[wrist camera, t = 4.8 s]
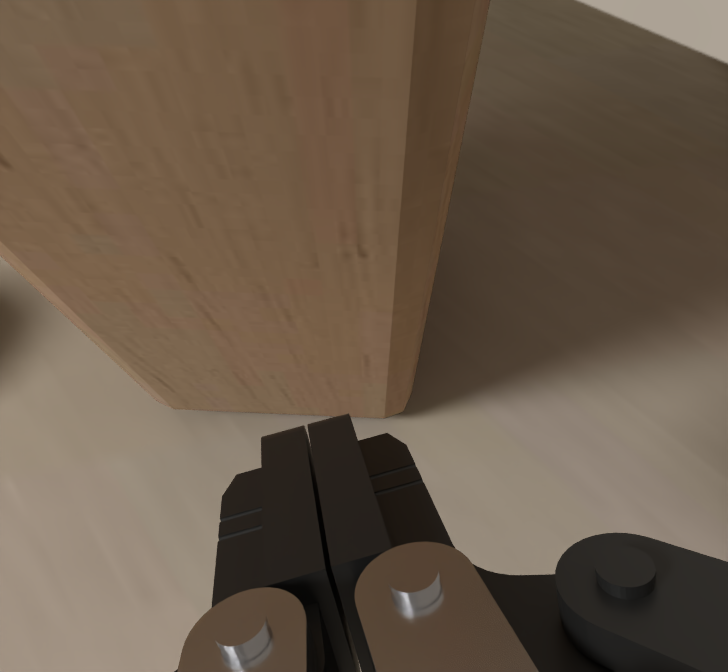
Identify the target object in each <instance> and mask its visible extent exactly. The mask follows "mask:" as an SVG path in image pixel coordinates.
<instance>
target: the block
mask: <svg viewBox="0 0 728 672" xmlns="http://www.w3.org/2000/svg"><path fill="white" fill-rule="evenodd" d="M489 4H490V0H0V256H1V257H2V258H4V259H5V260H6V261H7V262H8V263H9V264H10V265H11V266H12V267H13V268H14V269H15V270H16V271H17V272H19V273H20V274H21V275H22V276H23V277H24V278H25V279H26V280H27V281H28V282H29V283H30V284H31V285H33V286H34V287H35V288H36V289H37V290H38V291H39V292H40V293H41V294H42V295H43V296H44V297H45V298H47V299H48V300H49V301H50V302H51V303H52V304H53V305H54V306H55V307H56V308H57V309H58V310H59V311H61V312H62V313H63V314H64V315H65V316H66V317H67V318H68V319H69V320H70V321H71V322H72V323H73V324H74V325H76V326H77V327H78V328H79V329H80V330H81V331H82V332H83V333H84V334H85V335H86V336H87V337H88V338H90V339H91V340H92V341H93V342H94V343H95V344H96V345H97V346H98V347H99V348H100V349H101V350H102V351H104V352H105V353H106V354H107V355H108V356H109V357H110V358H111V359H112V360H113V361H114V362H115V363H116V364H118V365H119V366H120V367H121V368H122V369H123V370H124V371H125V372H126V373H127V374H128V375H129V376H130V377H131V378H133V379H134V380H135V381H136V382H137V383H138V384H139V385H140V386H141V387H142V388H143V389H144V390H145V391H147V392H148V393H149V394H150V395H151V396H152V397H153V398H154V399H155V400H156V401H158V402H160V403H162V404H164V405H166V406H168V407H170V408H173V409H185V410H207V411H230V412H253V413H276V414H299V415H322V416H340V415H344V414H348V413H349V415H350V417H368V418H386V417H389V416H392V415H395V414H398V413H400V412H403V411H404V409H405V407H406V404H407V402H408V400H409V398H410V396H411V393H412V388H413V383H414V378H415V373H416V368H417V363H418V358H419V353H420V348H421V343H422V338H423V333H424V328H425V323H426V318H427V313H428V308H429V303H430V298H431V293H432V288H433V283H434V278H435V273H436V268H437V263H438V258H439V253H440V248H441V243H442V238H443V233H444V228H445V223H446V218H447V213H448V208H449V203H450V198H451V193H452V188H453V183H454V178H455V173H456V168H457V163H458V158H459V153H460V148H461V144H462V139H463V134H464V129H465V124H466V119H467V114H468V109H469V104H470V99H471V94H472V89H473V84H474V79H475V74H476V69H477V64H478V59H479V54H480V49H481V44H482V39H483V34H484V29H485V24H486V19H487V14H488V9H489Z"/></svg>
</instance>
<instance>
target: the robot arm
mask: <svg viewBox="0 0 728 672" xmlns="http://www.w3.org/2000/svg"><path fill="white" fill-rule="evenodd" d="M308 432H309V438H310V442H309V439H308V435H307V432H306V429H305V427H304V426H300V427H297V428H293V429H289V430H286V431H282V432H278V433H275V434H271V435H267V436H264V437H262V438H261V464H262V468H259V469H255V470H252V471H248V472H244V473H241V474H237V475H236V476H235V478H234V479H233V481H232V482H231V484H230V485H229V487H228V488H227V490H226V491H225V493H224V494H223V496H222V503H221V514H220V520H221V522H220V524H219V535H218V537H219V541H218V546H217V556H216V567H215V577H214V588H213V598H212V608H211V609H210V610H209V611H208V612H207V613H205V614H204V615H203V616H202V617H201V618H200V620H199V621H198V622H197V623H196V624H195V626H194V627H193V628H192V630H191V631H190V633H189V635H188V637H187V639H186V641H185V643H184V646H183V649H182V653H181V658H180V662H179V666H178V669H177V670H176V671H175V672H360V667H361V671H362V672H728V562H726V561H723V560H719V559H716V558H713V557H710V556H707V555H703V554H700V553H697V552H694V551H691V550H687V549H684V548H681V547H678V546H674V545H671V544H668V543H665V542H662V541H658V540H655V539H652V538H649V537H645V536H641V535H636V534H628V533H606V534H600V535H595V536H591V537H588V538H585V539H583V540H581V541H579V542H577V543H575V544H574V545H572V546H571V547H570V548H568V549H567V550H566V551H565V553H564V554H563V555H562V556H561V558H560V560H559V561H558V564H557V567H556V571H555V574H552V575H505V574H498V573H494V572H490V571H487V570H484V569H482V568H479V567H477V566H475V565H473V564H472V563H471V562H470V560H469V559H468V558H467V557H466V556H465V555H464V554H463V553H461V552H460V551H458V550H457V549H455V547H454V546H453V544H452V542H451V540H450V538H449V535H448V533H447V531H446V529H445V527H444V525H443V523H442V520H441V518H440V516H439V514H438V512H437V510H436V507H435V505H434V503H433V501H432V499H431V497H430V495H429V492H428V490H427V488H426V486H425V484H424V483H423V480H422V477H421V475H420V473H419V471H418V469H417V467H416V466H415V462H414V460H413V458H412V456H411V454H410V452H409V450H408V447H407V445H406V444H404V443H402V442H401V441H399V440H398V439H396V438H394V437H393V436H391V435H390V434H388V433H385V434H381V435H378V436H374V437H371V438H367V439H363V440H360V441H358V440H357V437H356V433H355V430H354V427H353V424H352V421H351V418H350V415H349V413H348V414H344V415H340V416H337V417H333V418H329V419H326V420H322V421H318V422H315V423H311V424H308ZM310 444H311V446H310ZM358 660H359V662H358ZM359 664H360V667H359Z"/></svg>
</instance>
